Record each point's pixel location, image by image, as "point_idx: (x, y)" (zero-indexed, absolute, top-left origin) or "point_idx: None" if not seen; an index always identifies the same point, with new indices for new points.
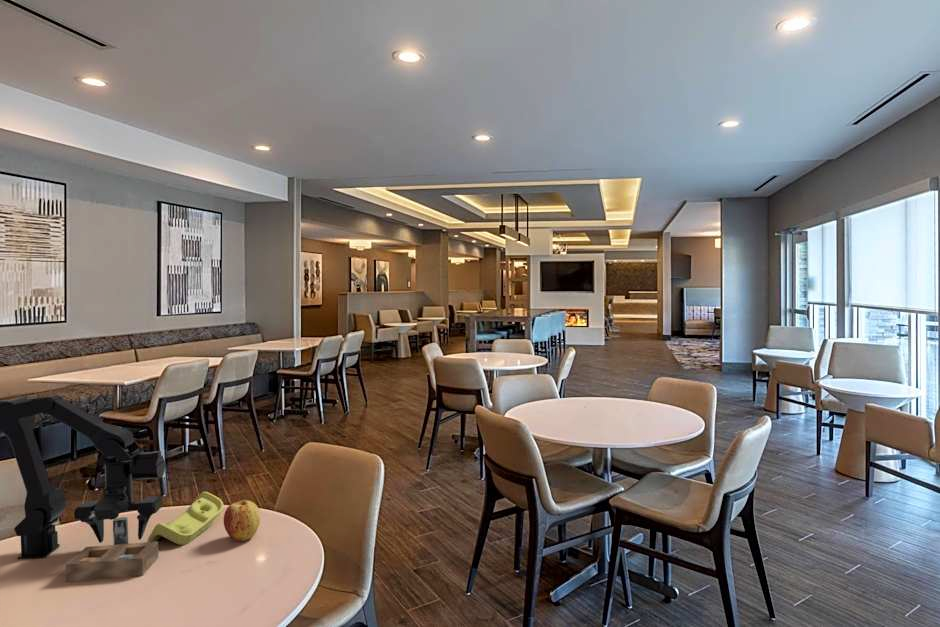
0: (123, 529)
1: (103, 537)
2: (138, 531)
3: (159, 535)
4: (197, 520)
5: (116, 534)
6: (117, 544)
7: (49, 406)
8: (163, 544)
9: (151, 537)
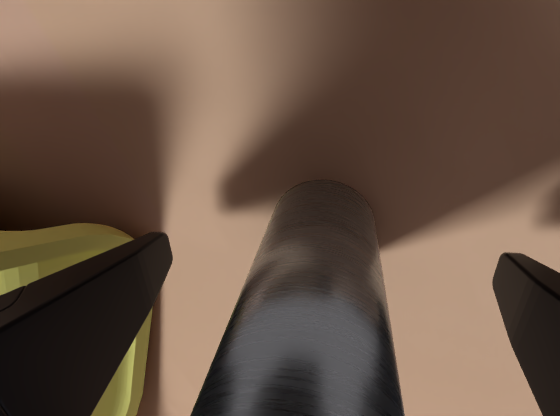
0: (241, 305)
1: (501, 313)
2: (103, 267)
3: None
4: None
5: (325, 256)
6: (325, 198)
7: None
8: (32, 192)
9: (59, 228)
